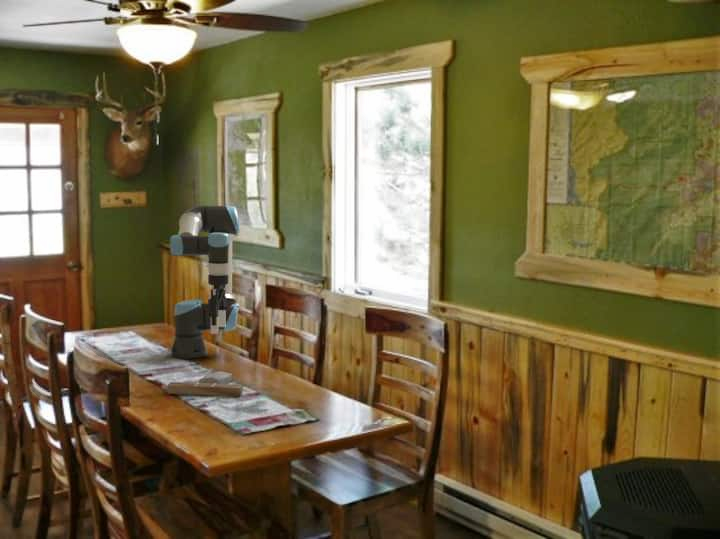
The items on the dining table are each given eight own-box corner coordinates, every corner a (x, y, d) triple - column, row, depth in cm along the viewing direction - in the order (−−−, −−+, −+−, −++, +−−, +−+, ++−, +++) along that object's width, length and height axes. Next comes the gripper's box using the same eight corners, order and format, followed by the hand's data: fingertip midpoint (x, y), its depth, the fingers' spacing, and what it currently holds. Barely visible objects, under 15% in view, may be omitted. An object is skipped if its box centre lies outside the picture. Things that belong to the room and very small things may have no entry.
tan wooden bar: (170, 390, 280) (170, 381, 280) (242, 392, 280) (242, 384, 279) (167, 393, 276) (167, 384, 276) (240, 396, 276) (240, 387, 275)
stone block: (197, 392, 286) (223, 388, 284) (195, 379, 286) (220, 375, 284) (210, 384, 298) (234, 381, 296) (208, 372, 297) (232, 369, 295)
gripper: (215, 269, 307) (215, 323, 309) (200, 278, 283) (200, 336, 285) (234, 269, 306) (234, 324, 309) (221, 278, 282) (221, 337, 285)
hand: (218, 330), depth 297 cm, fingers open, 12 cm apart
